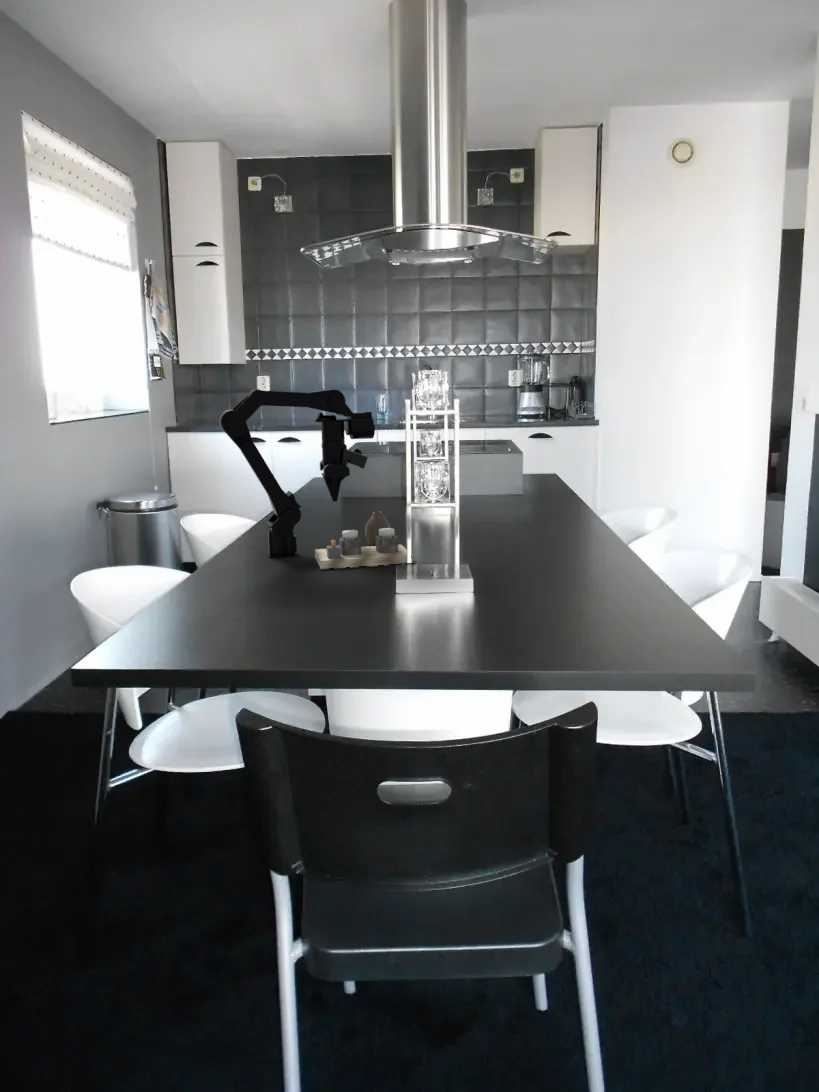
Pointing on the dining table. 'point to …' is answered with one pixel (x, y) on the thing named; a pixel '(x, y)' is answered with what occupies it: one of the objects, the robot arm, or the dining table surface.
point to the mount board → (364, 554)
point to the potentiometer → (333, 550)
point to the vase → (375, 526)
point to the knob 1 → (349, 534)
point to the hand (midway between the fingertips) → (335, 501)
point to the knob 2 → (386, 532)
